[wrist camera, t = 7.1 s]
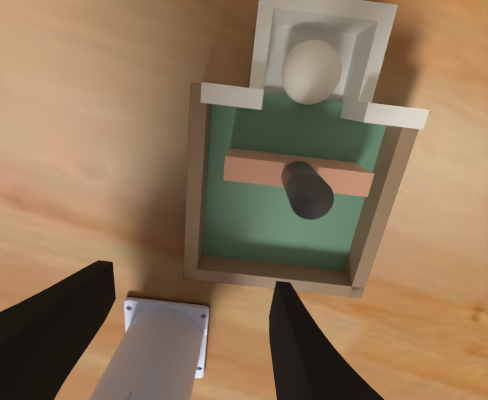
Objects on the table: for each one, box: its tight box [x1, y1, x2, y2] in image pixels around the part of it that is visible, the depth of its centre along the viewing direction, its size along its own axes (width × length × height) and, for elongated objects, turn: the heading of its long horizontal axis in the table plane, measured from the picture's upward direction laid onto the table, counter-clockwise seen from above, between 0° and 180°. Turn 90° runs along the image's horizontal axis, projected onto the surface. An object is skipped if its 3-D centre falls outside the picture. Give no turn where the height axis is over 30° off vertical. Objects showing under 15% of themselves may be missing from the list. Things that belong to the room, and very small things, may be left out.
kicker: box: [223, 148, 374, 220], centre depth 15 cm, size 2×9×7 cm, turn 83°
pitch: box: [183, 0, 430, 298], centre depth 18 cm, size 19×14×5 cm
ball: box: [281, 40, 341, 105], centre depth 16 cm, size 4×4×4 cm
